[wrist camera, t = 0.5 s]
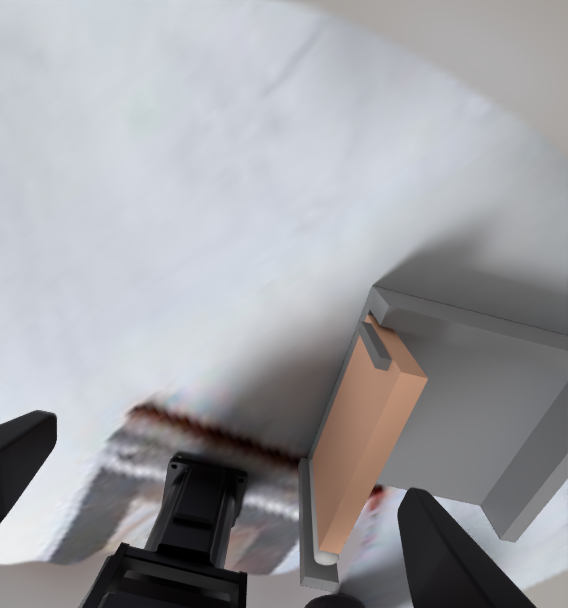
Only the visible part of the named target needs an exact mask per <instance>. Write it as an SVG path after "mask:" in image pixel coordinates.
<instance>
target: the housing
mask: <svg viewBox="0 0 568 608" xmlns="http://www.w3.org/2000/svg"><path fill="white" fill-rule="evenodd" d="M367 315H371V316H375V318H376V320H377V321H378V323H379V324H380V326H383V327H387V328H391V329H393V330H394V331H395V332H396V334H397V335H398V337H399V338H400V339H401V341H402V342H403V344H404V345H405V346H406V348H407V349H408V351H409V352H410V354H411V355H412V356H413V358H414V359H415V361H416V362H417V363H418V365H419V366H420V368H421V369H422V370H423V372H424V373H425V375H426V376H427V378H428V380H427V382H426V384H425V386H424V388H423V390H422V392H421V394H420V396H419V398H418V400H417V402H416V404H415V406H414V408H413V410H412V412H411V414H410V416H409V418H408V420H407V422H406V424H405V426H404V428H403V430H402V432H401V434H400V436H399V438H398V440H397V442H396V444H395V446H394V448H393V450H392V452H391V453H390V455H389V457H388V459H387V461H386V463H385V465H384V467H383V469H382V471H381V473H380V475H379V477H378V479H377V481H376V483H377V484H382V485H387V486H391V487H396V488H400V489H405V490H408V489H409V488H411V487H415V488H420V489H424V490H426V491H428V492H429V493H430V494H431V495H433V496H438V497H442V498H447V499H451V500H456V501H461V502H465V503H470V504H475V505H479V506H480V507H481V508H482V510H483V512H484V513H485V515H486V517H487V518H488V520H489V522H490V524H491V525H492V527H493V529H494V530H495V532H496V534H497V535H498V537H499V539H500V540H505V541H510V542H516V541H517V540H518V538H519V537H520V536H521V535H522V534H523V532H524V531H525V530H526V529H527V527H528V526H529V525H530V524H531V523H532V521H533V520H534V519H535V518H536V517H537V515H538V514H539V513H540V512H541V510H542V509H543V508H544V507H545V506H546V504H547V503H548V502H549V501H550V500H551V498H552V497H553V496H554V495H555V493H556V492H557V491H558V490H559V489H560V487H561V486H562V485H563V484H564V482H565V481H566V480H567V479H568V336H567V335H563V334H559V333H555V332H551V331H548V330H544V329H540V328H536V327H532V326H528V325H524V324H520V323H516V322H512V321H508V320H505V319H501V318H497V317H493V316H489V315H485V314H481V313H477V312H473V311H469V310H465V309H462V308H458V307H454V306H450V305H446V304H442V303H438V302H434V301H430V300H426V299H422V298H419V297H415V296H411V295H407V294H403V293H399V292H395V291H391V290H387V289H383V288H379V287H376V286H372V288H371V291H370V293H369V296H368V299H367V301H366V304H365V307H364V309H363V312H362V315H361V317H360V320H359V323H358V325H357V328H356V331H355V333H354V336H353V339H352V341H351V344H350V347H349V349H348V352H347V355H346V357H345V360H344V363H343V365H342V368H341V370H340V373H339V376H338V378H337V381H336V384H335V386H334V389H333V392H332V394H331V397H330V400H329V402H328V405H327V408H326V410H325V413H324V416H323V418H322V421H321V424H320V426H319V429H318V432H317V434H316V437H315V440H314V442H313V445H312V448H311V450H310V453H309V456H308V459H306V458H301V460H300V462H299V465H298V473H299V538H300V585H301V586H305V587H310V588H315V589H321V590H326V591H331V592H334V591H335V589H336V587H337V585H338V584H339V580H338V571H337V563H335V564H332V565H321V564H319V563H317V562H316V561H315V559H314V546H313V527H312V509H311V491H310V472H309V462H310V460H311V459H313V455H314V452H315V450H316V447H317V445H318V442H319V439H320V437H321V434H322V432H323V429H324V426H325V424H326V421H327V419H328V416H329V413H330V411H331V408H332V405H333V403H334V400H335V398H336V395H337V392H338V390H339V387H340V385H341V382H342V379H343V377H344V374H345V372H346V369H347V366H348V364H349V361H350V359H351V356H352V353H353V351H354V348H355V346H356V343H357V340H358V338H359V335H360V334H359V332H358V328H359V326H360V323H361V321H363V322H365V320H366V317H367Z"/></svg>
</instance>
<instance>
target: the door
mask: <svg viewBox="0 0 568 608" xmlns="http://www.w3.org/2000/svg"><path fill="white" fill-rule="evenodd" d="M358 332H359V334H360V335H359V338H358V340H357V343H356V346H355V348H354V351H353V353H352V356H351V359H350V361H349V364H348V366H347V369H346V372H345V374H344V377H343V379H342V382H341V385H340V387H339V390H338V392H337V395H336V398H335V400H334V403H333V405H332V408H331V411H330V413H329V416H328V419H327V421H326V424H325V426H324V429H323V432H322V434H321V437H320V439H319V442H318V445H317V447H316V450H315V452H314V455H313V459H311V460H310V462H309V472H310V491H311V509H312V527H313V546H314V559H315V561H316V562H317V563H319V564H321V565H332V564H335V563H336V562H337V561H338V560H339V554H340V552H341V550H342V548H343V546H344V544H345V542H346V540H347V538H348V536H349V535H350V533H351V531H352V529H353V527H354V525H355V523H356V521H357V519H358V517H359V515H360V513H361V511H362V509H363V507H364V505H365V503H366V501H367V499H368V497H369V495H370V493H371V491H372V489H373V487H374V485H375V483H376V481H377V479H378V477H379V475H380V473H381V471H382V469H383V467H384V465H385V463H386V461H387V459H388V457H389V455H390V453H391V452H392V450H393V448H394V446H395V444H396V442H397V440H398V438H399V436H400V434H401V432H402V430H403V428H404V426H405V424H406V422H407V420H408V418H409V416H410V414H411V412H412V410H413V408H414V406H415V404H416V402H417V400H418V398H419V396H420V394H421V392H422V390H423V388H424V386H425V384H426V382H427V380H428V378H427V376H426V375H425V373H424V372H423V370H422V369H421V368H420V366H419V365H418V363H417V362H416V361H415V359H414V358H413V356H412V355H411V354H410V352H409V351H408V349H407V348H406V346H405V345H404V344H403V342H402V341H401V339H400V338H399V337H398V335H397V334H396V332H395V331H394V330H393V329H391V328H387V327H383V326H380V324H379V323H378V321H377V320H376V318H375V316H371V315H367V317H366V320H365V322H363V321H361V323H360V326H359V328H358Z"/></svg>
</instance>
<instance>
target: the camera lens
mask: <svg viewBox="0 0 568 608" xmlns="http://www.w3.org/2000/svg"><path fill="white" fill-rule="evenodd" d="M305 608H365V607H364V605H363V604H362V603H361V602H360V601H358V600H357V599H355V598H353V597H349V596H345V595H336V594H333V595H325V596H321V597H318V598H315V599H313V600H311V601H310V602H309V603H308V604H307V605H306V606H305Z"/></svg>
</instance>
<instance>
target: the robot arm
mask: <svg viewBox="0 0 568 608" xmlns="http://www.w3.org/2000/svg"><path fill="white" fill-rule="evenodd" d="M56 441H57V416H56V415H55V414H54V413H51V412H46V411H42V410H36V411H33V412H30V413H28V414H25V415H23V416H20V417H18V418H15V419H13V420H10V421H8V422H5V423H3V424H0V523H1V522H2V521H3V519H4V518H5V517H6V515H7V514H8V513H9V511H10V510H11V509H12V507H13V506H14V505H15V503H16V502H17V500H18V499H19V497H20V496H21V495H22V493H23V492H24V490H25V489H26V487H27V486H28V485H29V483H30V482H31V480H32V479H33V477H34V476H35V475H36V473H37V472H38V470H39V469H40V467H41V466H42V465H43V463H44V462H45V460H46V459H47V457H48V456H49V455H50V453H51V452H52V450H53V449H54V447H55V444H56ZM247 478H248V476H247V474H246V473H244V472H241V471H236V470H231V469H227V468H222V467H217V466H212V465H208V464H203V463H198V462H194V461H189V460H184V459H179V458H172V459H171V460H170V462H169V464H168V468H167V475H166V482H165V488H164V495H163V501H162V507H161V509H160V512H159V514H158V516H157V519H156V521H155V524H154V526H153V528H152V531H151V533H150V536H149V538H148V540H147V543H146V545H145V548H144V549H140V548H136V547H132V546H129V545H130V544H127V543H123V542H121V544H120V546H119V547H118V549H117V551H116V553H115V555H111V556H108V557H107V558H106V560H105V562H104V565H103V566H102V568H101V571H100V572H99V574H98V576H97V578H96V580H95V582H94V584H93V585H92V587H91V589H90V590H89V592H88V593H87V595H86V596H85V598H84V599H83V601H82V602H81V604H80V605H79V607H78V608H246V594H247V573H246V572H242V571H239V573H238V572H234V571H230V570H226V569H224V564H225V559H226V553H227V548H228V543H229V537H230V532H231V528H232V527H234V525H235V521H236V518H237V514H238V511H239V507H240V504H241V501H242V497H243V494H244V490H245V487H246V483H247ZM397 515H398V524H399V530H400V536H401V542H402V549H403V555H404V561H405V567H406V573H407V579H408V584H409V589H410V594H411V598H412V603H413V607H414V608H537V607H536V606H535V605H534V604H533V603H532V602H531V601H530V600H529V599H528V598H527V597H526V596H525V595H524V593H523V592H522V591H521V590H520V589H519V588H518V587H517V586H516V585H515V584H514V583H513V582H512V581H511V580H510V578H509V577H508V576H507V575H506V574H505V573H504V572H503V571H502V570H501V569H500V568H499V567H498V566H497V565H496V564H495V562H494V561H493V560H492V559H491V558H490V557H489V556H488V555H487V554H486V553H485V552H484V551H483V550H482V549H481V547H480V546H479V545H478V544H477V543H476V542H475V541H474V540H473V539H472V538H471V537H470V536H469V535H468V534H467V533H466V531H465V530H464V529H463V528H462V527H461V526H460V525H459V524H458V523H457V522H456V521H455V520H454V519H453V518H452V516H451V515H450V514H449V513H448V512H447V511H446V510H445V509H444V508H443V507H442V506H441V505H440V504H439V503H438V502H437V500H436V499H435V498H434V497H433V496H432V495H431V494H430V493H429V492H428V491H426V490H424V489H420V488H415V487H411V488H409V489H408V491H407V492H406V494H405V496H404V498H403V500H402V502H401V504H400V506H399V509H398V514H397Z"/></svg>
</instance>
